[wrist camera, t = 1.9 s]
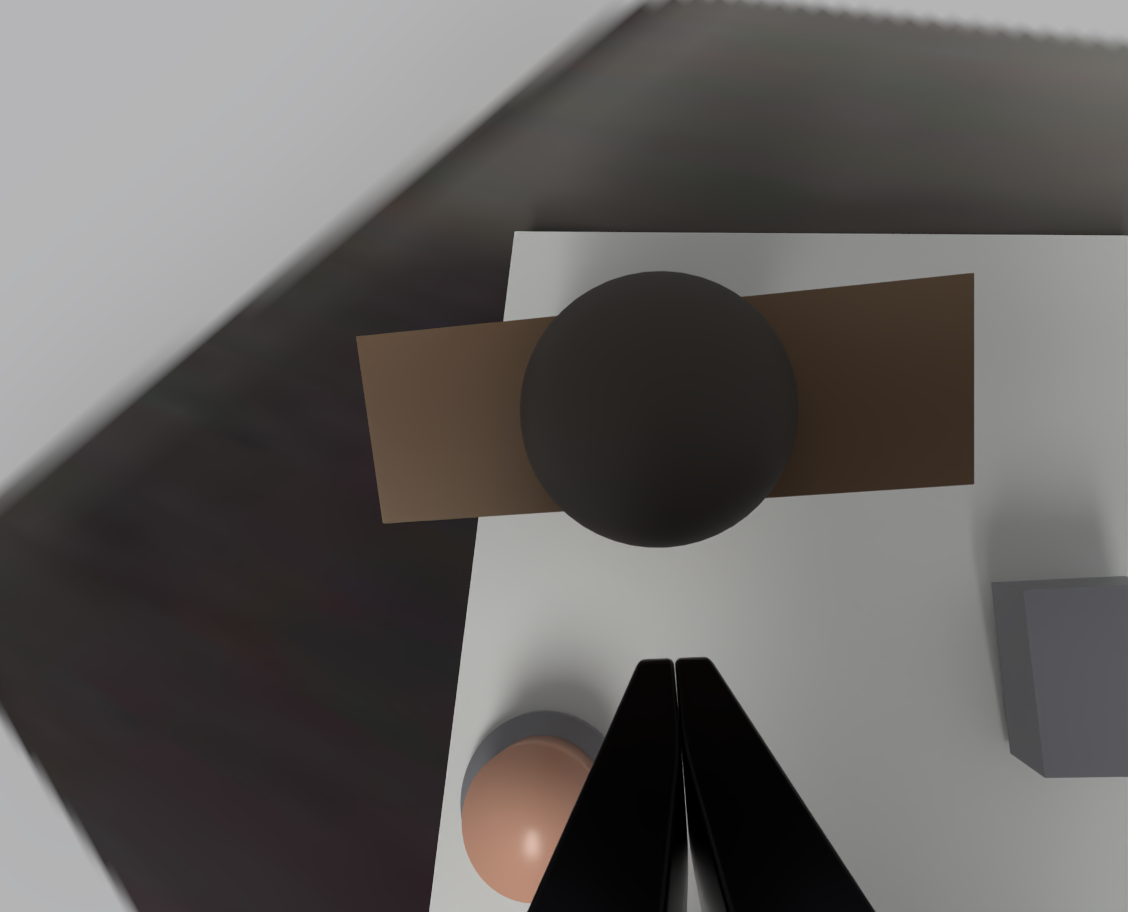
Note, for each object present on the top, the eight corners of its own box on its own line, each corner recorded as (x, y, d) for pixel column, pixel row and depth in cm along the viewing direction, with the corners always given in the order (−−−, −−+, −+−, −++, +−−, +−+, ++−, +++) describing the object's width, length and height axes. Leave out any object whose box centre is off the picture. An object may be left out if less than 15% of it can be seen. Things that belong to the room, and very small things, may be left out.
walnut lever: (752, 390, 22) (1105, 567, 5) (552, 408, 22) (296, 607, 6) (747, 307, 21) (1116, 202, 5) (544, 327, 22) (244, 301, 5)
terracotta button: (602, 887, 18) (595, 914, 16) (472, 866, 19) (452, 890, 17) (613, 743, 19) (608, 755, 17) (488, 727, 20) (471, 737, 18)
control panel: (1204, 1053, 17) (1275, 1110, 15) (442, 918, 20) (417, 950, 18) (1125, 260, 22) (1171, 224, 20) (523, 253, 25) (510, 221, 23)
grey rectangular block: (1145, 751, 17) (1194, 775, 16) (1010, 753, 18) (1044, 777, 16) (1123, 576, 18) (1169, 583, 16) (990, 582, 18) (1023, 589, 16)
